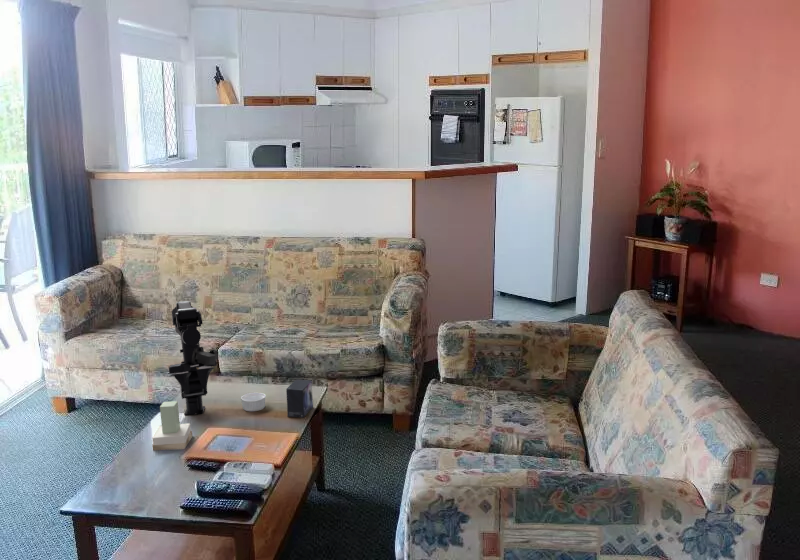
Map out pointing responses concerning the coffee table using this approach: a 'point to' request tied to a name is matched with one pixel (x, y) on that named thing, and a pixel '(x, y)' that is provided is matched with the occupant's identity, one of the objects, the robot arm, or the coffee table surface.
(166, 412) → the sage block
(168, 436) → the tower top slab
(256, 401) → the ramekin
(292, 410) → the small box
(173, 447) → the tower base slab
